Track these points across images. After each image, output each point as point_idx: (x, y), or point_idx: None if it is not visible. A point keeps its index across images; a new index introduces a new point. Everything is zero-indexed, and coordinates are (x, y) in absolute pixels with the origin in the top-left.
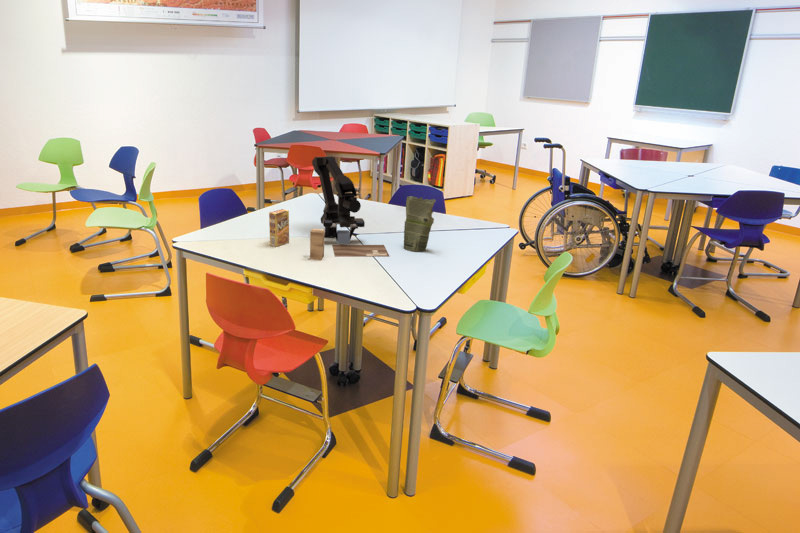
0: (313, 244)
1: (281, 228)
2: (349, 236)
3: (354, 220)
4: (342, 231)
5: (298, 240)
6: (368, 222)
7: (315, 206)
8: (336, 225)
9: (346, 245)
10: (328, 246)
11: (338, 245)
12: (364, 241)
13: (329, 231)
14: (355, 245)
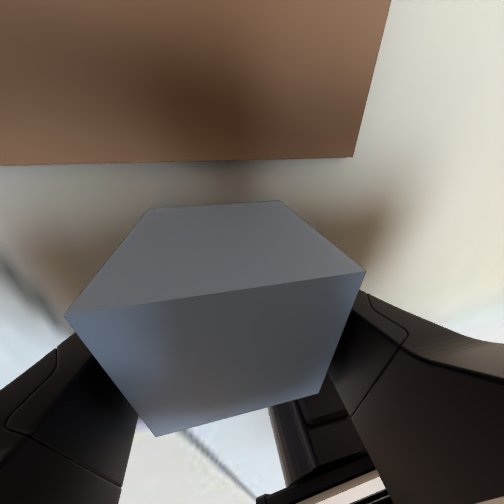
0: None
1: None
2: (111, 265)
3: None
4: (255, 379)
5: (482, 268)
6: (122, 500)
7: (284, 487)
8: (288, 460)
9: (176, 117)
10: (381, 135)
11: (288, 118)
12: (10, 331)
13: (329, 381)
14: (14, 115)
